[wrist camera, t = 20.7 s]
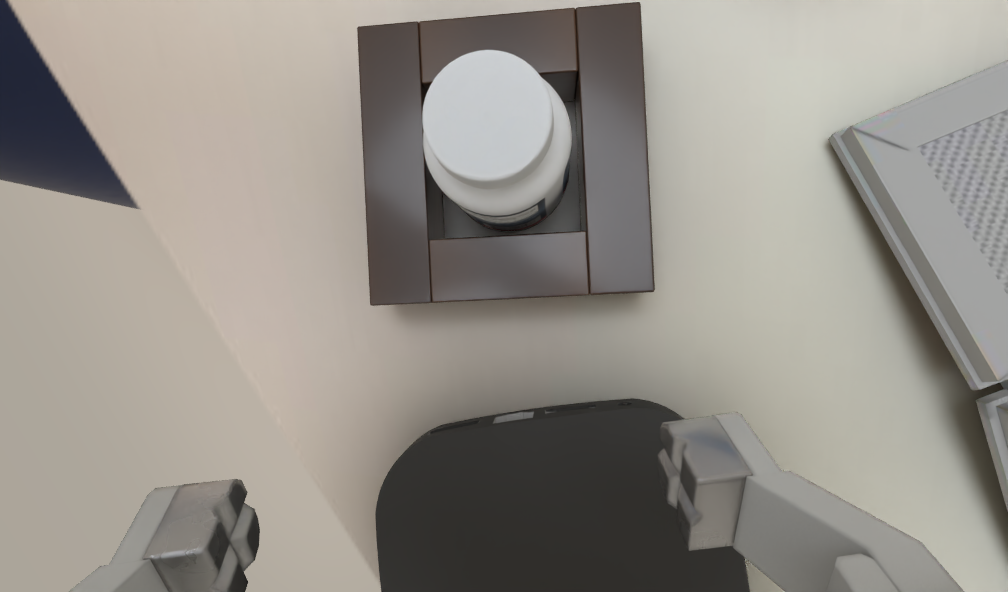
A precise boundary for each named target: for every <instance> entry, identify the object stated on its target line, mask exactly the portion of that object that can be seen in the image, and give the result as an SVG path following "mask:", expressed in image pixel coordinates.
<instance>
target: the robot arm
mask: <svg viewBox="0 0 1008 592" xmlns="http://www.w3.org/2000/svg"><path fill="white" fill-rule="evenodd" d="M659 438H660V440H661V443H662V445H663V447H664V448H663V449H662V450H661V452H660V453H659V454H658V463H657V469H658V476H659V482H660V485H661V489H662V492H663V494H664V496H665V499H666V501H667V503H669V504H670V505H672V506H673V507H674V508H676V509H677V512H676V524H677V526H678V528H679V530H680V532H681V534H682V537H683V539H684V541H685V543H686V545H687V548H688V550H689V551H691V550H700V549H709V548H717V547H726V546H733V548H734V549H735V550H736V551H737V552H739V553H740V554H741V555H742V556H743V557H745V558H746V559H747V560H748V561H749V562H751V563H752V564H753V565H754V566H755V567H757V568H758V569H759V570H760V571H761V572H763V573H764V574H765V575H766V576H767V577H769V578H770V579H771V580H772V581H773V582H775V583H776V584H777V585H778V586H779V587H781V588H782V589H783V590H784V591H785V592H964V591H963V590H962V588H961V587H960V586H959V585H958V584H957V583H956V582H955V580H954V579H953V578H952V577H951V576H950V575H949V573H948V572H947V571H946V570H945V569H944V568H943V566H942V565H941V564H940V563H939V562H938V561H937V560H936V558H935V557H934V556H933V555H932V554H931V553H930V551H929V550H928V549H927V548H926V547H925V546H924V544H923V543H922V542H920V541H918V540H916V539H914V538H912V537H911V536H909V535H907V534H905V533H903V532H901V531H900V530H898V529H896V528H894V527H892V526H890V525H889V524H887V523H885V522H883V521H881V520H879V519H878V518H876V517H874V516H872V515H870V514H868V513H867V512H865V511H863V510H861V509H859V508H857V507H856V506H854V505H852V504H850V503H848V502H846V501H845V500H843V499H841V498H839V497H837V496H835V495H834V494H832V493H830V492H828V491H826V490H824V489H823V488H821V487H819V486H817V485H815V484H813V483H812V482H810V481H808V480H806V479H804V478H803V477H801V476H799V475H797V474H795V473H793V472H792V471H783V472H782V470H781V469H780V467H779V466H778V465H777V463H776V462H775V460H774V459H773V458H772V456H771V455H770V454H769V452H768V451H767V449H766V448H765V447H764V445H763V444H762V442H761V441H760V440H759V438H758V437H757V436H756V434H755V433H754V431H753V430H752V429H751V427H750V426H749V424H748V423H747V422H746V420H745V419H744V417H743V416H742V415H741V414H739V413H738V412H733V413H726V414H719V415H712V416H706V417H699V418H692V419H685V420H678V421H671V422H663V423H662V425H661V427H660V435H659ZM246 495H247V491H246V489H245V486H244V484H243V482H242V481H241V480H238V479H232V480H222V481H212V482H203V483H194V484H184V485H181V486H171V487H161V488H155V489H154V490H153V491H152V492H150V493H149V494H148V495H147V497H146V499H145V501H144V502H143V504H142V506H141V508H140V510H139V512H138V513H137V515H136V517H135V519H134V521H133V522H132V524H131V526H130V528H129V530H128V531H127V533H126V535H125V537H124V539H123V541H122V542H121V544H120V546H119V548H118V549H117V551H116V553H115V555H114V557H113V558H112V560H111V562H110V564H109V565H104V566H100V567H99V568H97V569H96V570H95V571H94V572H92V573H91V574H90V575H89V576H87V577H86V578H85V579H84V580H82V581H81V582H80V583H79V584H77V585H76V586H75V587H74V588H72V589H71V590H70V591H69V592H245V590H246V587H247V584H248V581H247V579H246V576H245V574H244V571H245V569H246V568H247V567H248V566H249V565H250V564H251V563H252V562H253V561H254V560H255V557H256V553H257V550H258V547H259V533H260V529H259V523H258V518H257V515H256V512H255V510H254V509H253V508H252V507H250V506H248V505H247V504H245V503H244V501H245V498H246Z"/></svg>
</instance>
